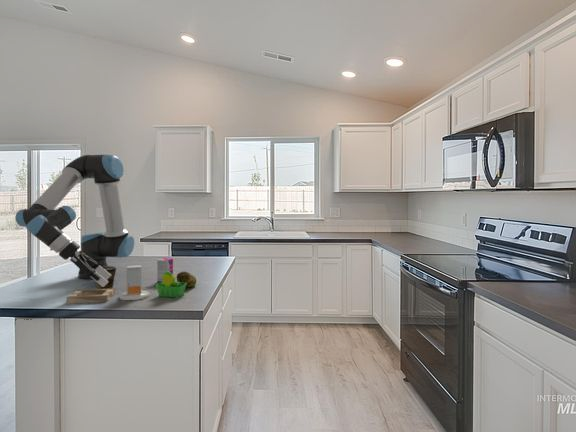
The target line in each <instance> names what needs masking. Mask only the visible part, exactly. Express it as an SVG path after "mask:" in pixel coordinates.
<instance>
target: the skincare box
mask: <svg viewBox="0 0 576 432" xmlns="http://www.w3.org/2000/svg"><path fill="white" fill-rule="evenodd" d="M142 267H143V265H142V264H140V265H138V264H137V265H126V268H125V269H126V271H125V272H126V275H125V276H126V292H127V295H139V294H142V290H143V287H142V286H143V281H142V280H143V279H142V278H143V276H142V275H143V272H142V271H143V269H142Z"/></svg>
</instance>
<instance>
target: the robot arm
mask: <svg viewBox="0 0 576 432" xmlns="http://www.w3.org/2000/svg"><path fill="white" fill-rule="evenodd" d="M123 175H124V166H123V162H122V161H121V160H120V158H119V157H118V156H117V155H114V154H85V155H81V156H78V157H77V158H75V159H73V160H71V162H69V163H68V164H67V165H66V166H64V167H63V169H62V170H61V174H60V175H59V176H58V177H57V178H56V179H55V180H54V181H53V182H52V183H51V184H50V186H48V188H47V189H46V190H45V191H44V192H42V194H41V195H40V196H39V197H38V198H37V199H35V201H34V202H33V203H32V204H31V206H30V207H29V208H24V209H22V208H21V209H20V210H19V209H18V211H17V212H16V213H15V216H14V217H15V222H16V224H17V225H18V226H19V227H22V228H26V230H27V231H28V232H29V233H30V234H31V235H32V236H33V237H36V238H37V239H38V240H39V241H41V243H43V244H44V245H46V246H47V247H48V248H50V249H49V250H50V251H51V252H52V251H53V252H55V253H56V254H58V256H59V257H61V258H62V259H63V260H65V261H67V260H70V262H72V264H74V265H75V266H76V267H77V268H78V269H79V270H78V275H77V277H78V279H82V280H93V281H94V282H95V281H96V282H97V283H98V284H100V285H101V286H102V287H104V286H105V285H106V284H107V283H108V281H107V279H108V278H109V277H110V276H111V274H110V273H108V272H107V271H106V270H105V269H104V268H102V267H101V266H109V264H108V262H107V258H120V259H121V258H127V257H129V256H131V255H132V252H133V251H134V247H135V238H134V237H133V235H131V234H130V235H129V231H128V230H127V229H126V228H125V225H124V218H123V213H122V212H123V211H122V205H121V199H120V192H119V187H118V184H119V182H120V181H121V178H122V177H123ZM86 179H87V180H88V179H93V182H94V184H95V185H97V186H98V189H99V197H100V201H101V208H102V213H103V219H104V225H105V232H96V233H88V234H84V235H81V239H80V245H79V244H78V243H77V242H76V241H75V240H73V238H71V237H70V236H69V235H67V233H65V232H64V231H63V230H64V229H65V228H66V227H68V226H69V225H71V223H73V222H74V221H75V220H76V218H77V214H76V211H75V209H74V208H72V207H71V206H68V205H63V206H61V207H58V205H60V203H62V201H63V200H64V199H65V197H66V196H67V195H68V194H69V193H70V192H71V191H72V189H73V188H75V186H76V185H78V184H81V183H82V182H83V181H84V180H86ZM57 207H58V208H57ZM56 208H57V209H56ZM80 248H81V249H80ZM79 249H80V250H79ZM69 258H70V259H69ZM93 269H95V272H94V270H93ZM98 273H99V274H98Z"/></svg>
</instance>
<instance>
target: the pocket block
mask: <svg viewBox="0 0 576 432" xmlns="http://www.w3.org/2000/svg"><path fill="white" fill-rule="evenodd" d="M115 294H116V289H115V288H112V289H96V288H95V289H94V288H93V289H91V288H90V289H77V290H76V291H74V292H72V293H71V294H70V295H68V296H66V304H68V305H69V304H89V303H107V302H108V301H109V300H110V299H112V297H114V296H115Z"/></svg>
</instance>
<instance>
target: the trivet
mask: <svg viewBox="0 0 576 432" xmlns="http://www.w3.org/2000/svg"><path fill="white" fill-rule="evenodd" d="M150 294H151V293H150V291H148V290H143V289H142V294H139V295H127V291H125V292H122V293H120V294H118V295H119V299H120V300H121V301H125V300H133V301H140V299H141V300H145V299H147V298H149V297H150Z"/></svg>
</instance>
